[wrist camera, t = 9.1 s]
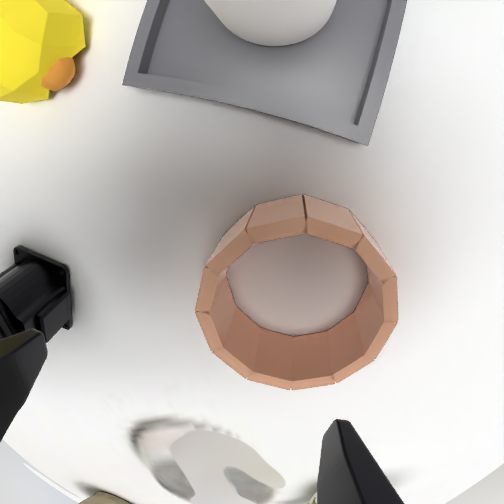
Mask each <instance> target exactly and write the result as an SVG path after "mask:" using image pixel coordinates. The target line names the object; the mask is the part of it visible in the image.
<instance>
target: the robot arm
mask: <svg viewBox="0 0 504 504" xmlns="http://www.w3.org/2000/svg"><path fill="white" fill-rule="evenodd" d="M14 260H15V264H14V265H12V266H11V267H9V268H8V269H6V270H5V271H4V272H2V273H1V274H0V442H1V440H2V438H3V436H4V435H5V433H6V431H7V429H8V428H9V426H10V424H11V422H12V421H13V419H14V417H15V416H16V414H17V412H18V411H19V410H20V409H21V407H22V406H23V405H24V403H25V401H26V399H27V397H28V395H29V393H30V391H31V389H32V387H33V384H34V382H35V380H36V378H37V376H38V374H39V372H40V370H41V368H42V366H43V364H44V362H45V360H46V358H47V347H46V343H47V342H48V341H49V340H50V339H51V338H52V337H53V336H54V335H55V334H56V333H57V332H58V331H59V329H60V328H61V327H63V328H65V329H67V330H68V329H70V328H71V327H72V314H71V300H70V285H69V270H68V268H67V267H66V266H65V265H63V264H61V263H58V262H56V261H54V260H51V259H49V258H46V257H44V256H42V255H39V254H37V253H35V252H33V251H30V250H28V249H26V248H24V247H21V246H16V247H15V248H14ZM62 270H63V271H62ZM317 504H404V503H403V501H402V500H401V498H400V497H399V495H398V494H397V492H396V491H395V489H394V488H393V486H392V485H391V483H390V482H389V480H388V479H387V477H386V476H385V474H384V473H383V471H382V470H381V468H380V467H379V465H378V464H377V462H376V461H375V459H374V458H373V456H372V455H371V453H370V452H369V450H368V449H367V447H366V446H365V444H364V443H363V441H362V439H361V438H360V436H359V435H358V433H357V432H356V430H355V429H354V427H353V426H352V424H351V423H350V422H349V421H347V420H340V419H336V420H334V421H333V423H332V424H331V426H330V427H329V428H328V430H327V431H326V433H325V434H324V436H323V440H322V449H321V458H320V466H319V474H318V483H317Z"/></svg>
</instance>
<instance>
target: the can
mask: <svg viewBox="0 0 504 504" xmlns="http://www.w3.org/2000/svg"><path fill="white" fill-rule="evenodd" d="M204 1H205V2H206V4H207V5H208V6H209V7H210V8H211V10H212V11H213V12H214V13H215V15H216V16H217V17H218V18H219V19H220V21H221V22H222V23H223V24H224V25H225V26H226V27H227V28H228V29H229V30H230V31H231V32H232V33H234V34H235V35H237V36H238V37H240V38H242V39H244V40H246V41H249V42H252V43H255V44H259V45H265V46H284V45H290V44H294V43H298V42H301V41H303V40H305V39H308V38H309V37H311V36H313V35H314V34H316V33H317V32H318V31H319V30H320V29H321V28H322V27H323V26H324V25H325V24H326V23H327V21H328V20H329V18H330V16H331V14H332V11H333V9H334V6H335V4H336V1H337V0H204Z"/></svg>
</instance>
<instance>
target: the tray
mask: <svg viewBox="0 0 504 504" xmlns="http://www.w3.org/2000/svg"><path fill="white" fill-rule="evenodd" d="M406 3H407V0H337V1H336V4H335V6H334V9H333V11H332V14H331V16H330V18H329V20H328V21H327V23H326V24H325V25H324V26H323V27H322V28H321V29H320V30H319V31H318V32H317V33H316V34H314V35H313V36H311V37H309V38H308V39H305V40H303V41H301V42H298V43H294V44H290V45H284V46H265V45H259V44H255V43H252V42H249V41H246V40H244V39H242V38H240V37H238V36H237V35H235V34H234V33H232V32H231V31H230V30H229V29H228V28H227V27H226V26H225V25H224V24H223V23H222V22H221V21H220V19H219V18H218V17H217V16H216V15H215V13H214V12H213V11H212V10H211V8H210V7H209V6H208V5H207V4H206V2H205V1H204V0H147V3H146V6H145V9H144V12H143V15H142V17H141V21H140V24H139V27H138V30H137V33H136V36H135V40H134V43H133V46H132V50H131V53H130V57H129V61H128V64H127V68H126V72H125V76H124V80H123V84H122V85H125V86H131V87H138V88H145V89H152V90H159V91H165V92H171V93H177V94H182V95H188V96H193V97H198V98H203V99H208V100H213V101H217V102H222V103H226V104H231V105H235V106H239V107H243V108H247V109H251V110H255V111H259V112H263V113H267V114H270V115H274V116H278V117H281V118H285V119H288V120H291V121H295V122H298V123H301V124H305V125H308V126H311V127H314V128H317V129H320V130H323V131H326V132H329V133H332V134H335V135H338V136H341V137H344V138H347V139H349V140H352V141H355V142H357V143H360V144H363V145H367V146H368V144H369V141H370V138H371V135H372V131H373V128H374V125H375V122H376V118H377V115H378V112H379V108H380V105H381V102H382V98H383V95H384V91H385V88H386V84H387V81H388V77H389V73H390V70H391V66H392V62H393V58H394V54H395V50H396V46H397V42H398V38H399V34H400V30H401V26H402V21H403V17H404V13H405V8H406Z"/></svg>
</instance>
